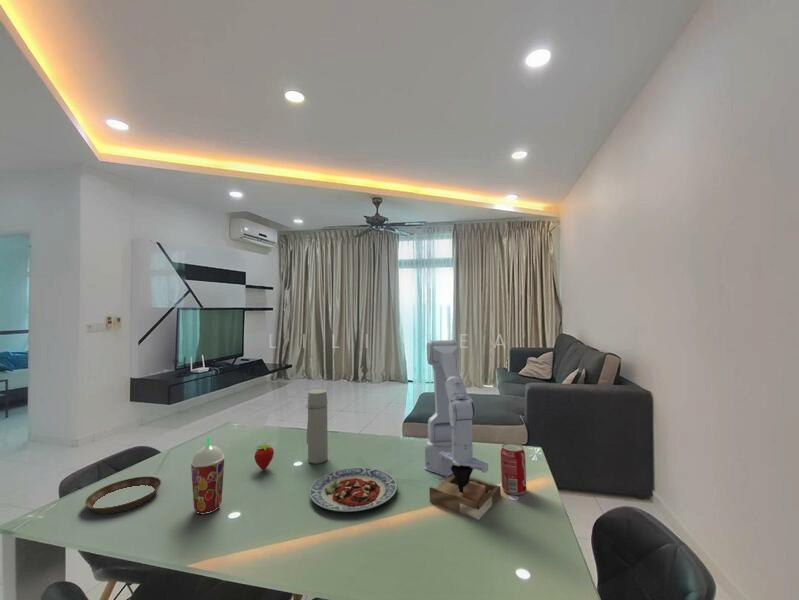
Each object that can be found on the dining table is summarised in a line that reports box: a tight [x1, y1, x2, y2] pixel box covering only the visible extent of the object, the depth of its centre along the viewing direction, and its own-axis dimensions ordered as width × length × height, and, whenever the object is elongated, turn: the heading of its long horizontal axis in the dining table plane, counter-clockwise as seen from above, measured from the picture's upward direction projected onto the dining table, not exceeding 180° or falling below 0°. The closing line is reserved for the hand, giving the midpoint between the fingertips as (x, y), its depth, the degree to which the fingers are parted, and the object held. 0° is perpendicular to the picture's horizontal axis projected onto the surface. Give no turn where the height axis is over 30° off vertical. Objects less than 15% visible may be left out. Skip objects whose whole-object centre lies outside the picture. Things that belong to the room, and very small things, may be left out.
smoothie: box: [190, 435, 226, 513], centre depth 99 cm, size 8×8×20 cm
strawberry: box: [254, 444, 275, 471], centre depth 123 cm, size 6×8×10 cm
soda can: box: [500, 442, 527, 496], centre depth 107 cm, size 7×7×13 cm
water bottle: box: [305, 389, 329, 465], centre depth 131 cm, size 9×8×25 cm
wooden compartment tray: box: [429, 473, 502, 520], centre depth 103 cm, size 15×15×4 cm
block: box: [463, 481, 485, 503], centre depth 99 cm, size 4×4×3 cm
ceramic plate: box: [309, 467, 398, 513], centre depth 107 cm, size 26×26×3 cm
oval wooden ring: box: [84, 476, 162, 514], centre depth 105 cm, size 18×18×3 cm
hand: (463, 491), depth 101 cm, fingers closed
